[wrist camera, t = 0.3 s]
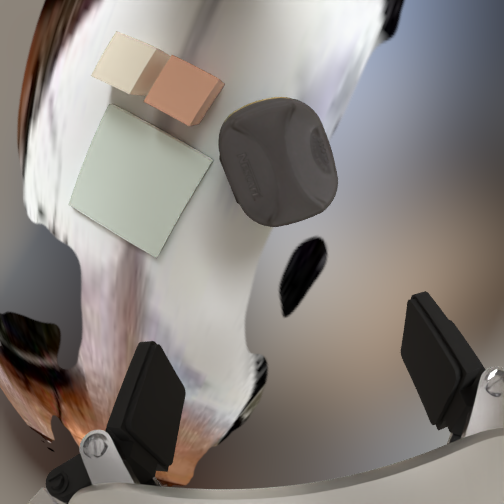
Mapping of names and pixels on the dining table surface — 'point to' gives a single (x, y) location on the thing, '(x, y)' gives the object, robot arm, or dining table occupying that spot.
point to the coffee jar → (278, 161)
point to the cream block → (130, 65)
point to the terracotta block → (184, 91)
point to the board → (137, 179)
